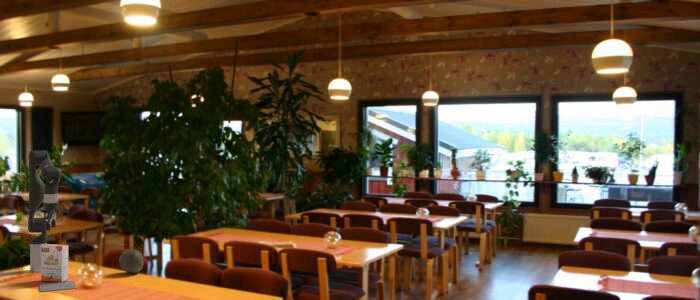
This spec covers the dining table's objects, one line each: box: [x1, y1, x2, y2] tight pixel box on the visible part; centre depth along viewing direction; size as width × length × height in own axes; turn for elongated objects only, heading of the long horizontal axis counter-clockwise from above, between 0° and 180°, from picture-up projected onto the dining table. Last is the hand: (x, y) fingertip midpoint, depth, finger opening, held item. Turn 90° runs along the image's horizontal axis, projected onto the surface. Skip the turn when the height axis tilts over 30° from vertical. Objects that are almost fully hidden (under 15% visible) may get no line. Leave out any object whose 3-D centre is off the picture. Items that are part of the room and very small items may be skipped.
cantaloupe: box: [118, 248, 144, 274], centre depth 371 cm, size 14×14×15 cm
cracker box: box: [40, 243, 69, 283], centre depth 348 cm, size 14×6×21 cm, turn 77°
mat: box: [39, 280, 77, 293], centre depth 336 cm, size 18×18×1 cm
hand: (50, 228), depth 349 cm, fingers open, 8 cm apart
